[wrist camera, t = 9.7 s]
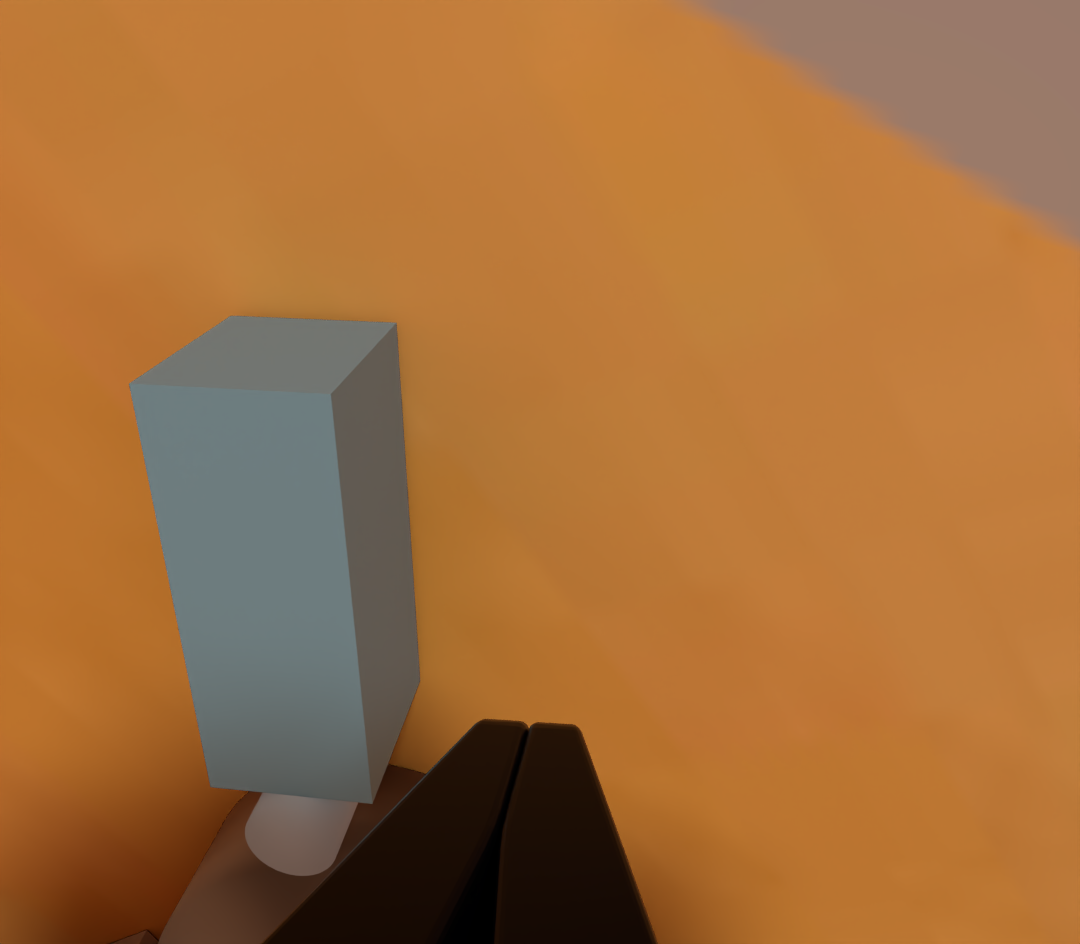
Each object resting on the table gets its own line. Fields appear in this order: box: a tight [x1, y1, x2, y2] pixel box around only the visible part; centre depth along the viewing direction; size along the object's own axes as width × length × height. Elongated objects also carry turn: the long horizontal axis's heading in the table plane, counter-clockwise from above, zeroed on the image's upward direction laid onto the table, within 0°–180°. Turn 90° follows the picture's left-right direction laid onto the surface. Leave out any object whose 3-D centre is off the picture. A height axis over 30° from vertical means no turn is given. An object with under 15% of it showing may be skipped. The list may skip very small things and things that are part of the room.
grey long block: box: [129, 316, 420, 876], centre depth 19 cm, size 11×4×4 cm, turn 0°
